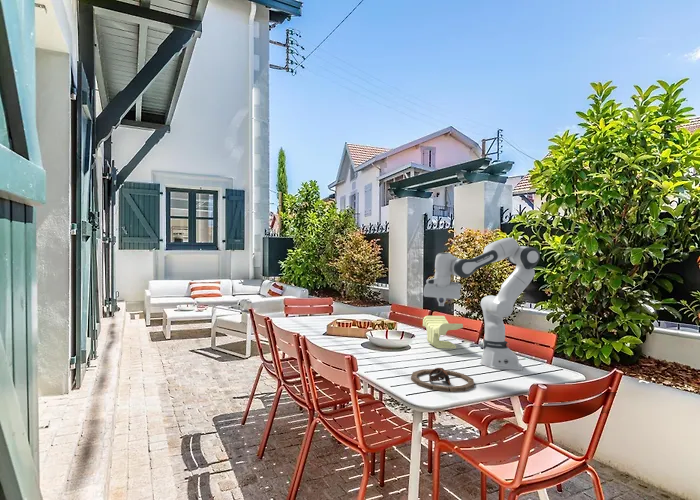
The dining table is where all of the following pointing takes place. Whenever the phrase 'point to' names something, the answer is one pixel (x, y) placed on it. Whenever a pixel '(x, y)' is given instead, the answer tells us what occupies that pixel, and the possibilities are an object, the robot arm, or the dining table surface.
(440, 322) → the ribbed pale green clamp
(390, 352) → the dining table surface
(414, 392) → the dining table surface
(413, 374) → the brown flat ring
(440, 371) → the dark brown arched piece
